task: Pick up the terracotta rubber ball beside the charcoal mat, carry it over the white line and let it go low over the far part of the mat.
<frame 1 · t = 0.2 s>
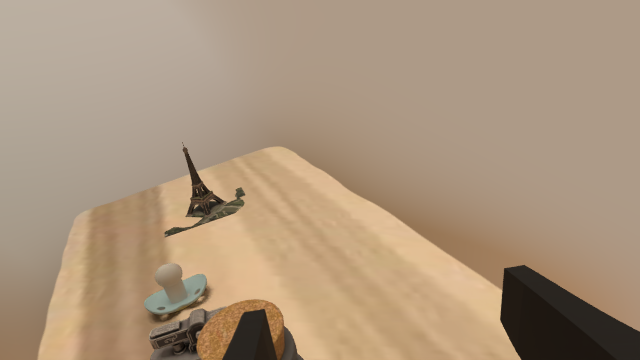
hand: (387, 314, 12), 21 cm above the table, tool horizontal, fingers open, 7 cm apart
eiffel tower figurine: (207, 214, 72), on the table
pacifier: (181, 302, 50), on the table
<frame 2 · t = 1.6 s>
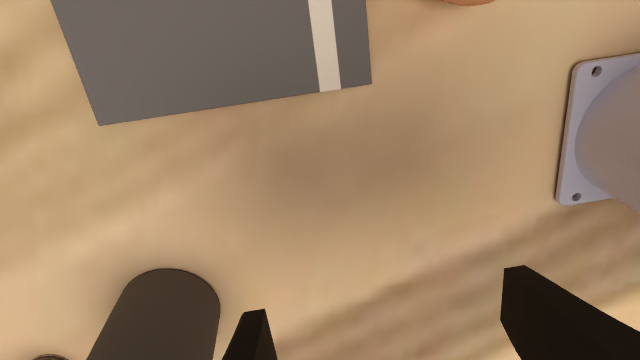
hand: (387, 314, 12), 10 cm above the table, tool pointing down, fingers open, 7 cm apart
bottle: (172, 305, 24), on the table
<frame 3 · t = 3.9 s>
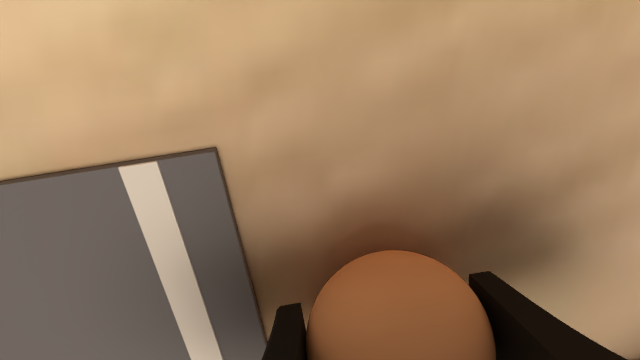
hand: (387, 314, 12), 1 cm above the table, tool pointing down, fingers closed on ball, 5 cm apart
ball: (376, 283, 13), on the table, touching gripper
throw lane: (57, 337, 13), on the table
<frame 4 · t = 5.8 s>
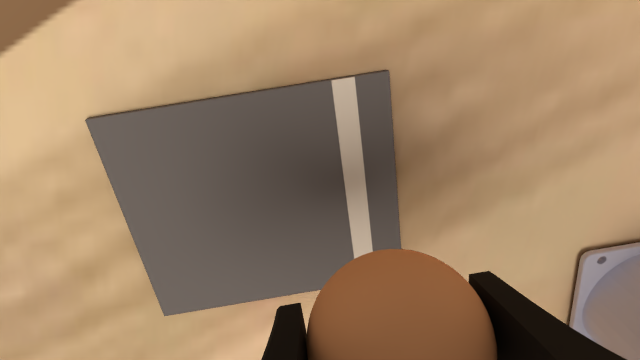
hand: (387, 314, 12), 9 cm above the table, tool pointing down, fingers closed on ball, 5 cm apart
ball: (377, 282, 13), point 7 cm above the table, touching gripper
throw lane: (264, 204, 20), on the table
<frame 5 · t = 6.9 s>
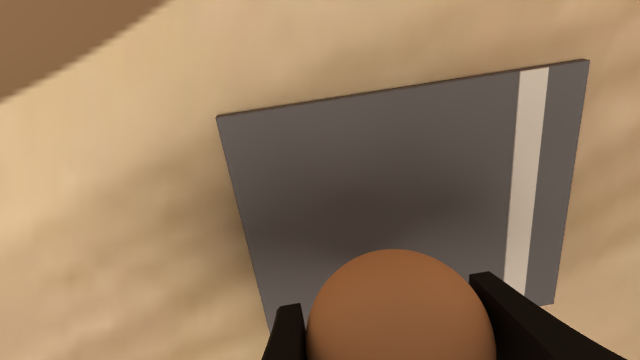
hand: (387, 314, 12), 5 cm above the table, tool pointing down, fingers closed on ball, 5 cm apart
ball: (376, 282, 13), point 3 cm above the table, touching gripper
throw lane: (408, 221, 16), on the table
when the fingers open (2 cm above the table, at t = 7.8 s): ball stays where it is, resting on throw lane.
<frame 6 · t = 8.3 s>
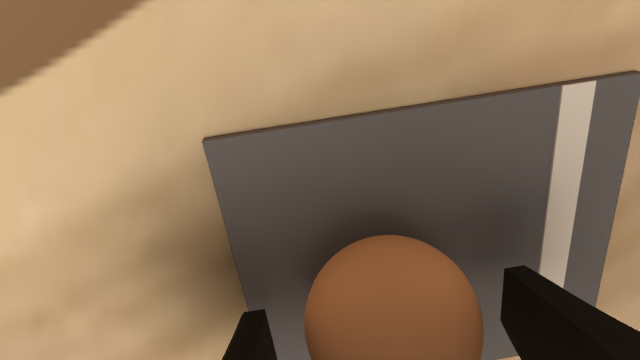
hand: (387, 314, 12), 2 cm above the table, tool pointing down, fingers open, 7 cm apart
ball: (372, 268, 14), resting on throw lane
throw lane: (426, 255, 14), on the table
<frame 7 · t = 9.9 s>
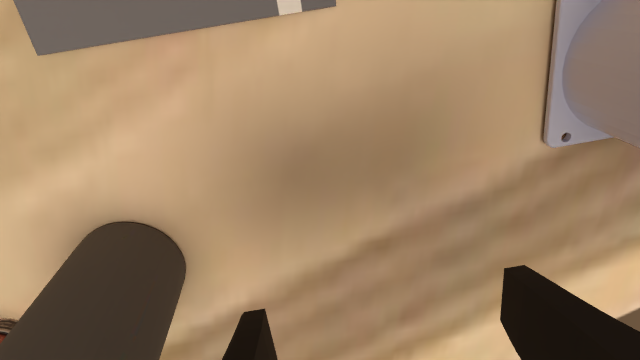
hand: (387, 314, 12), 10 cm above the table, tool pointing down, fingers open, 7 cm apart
bottle: (133, 263, 23), on the table
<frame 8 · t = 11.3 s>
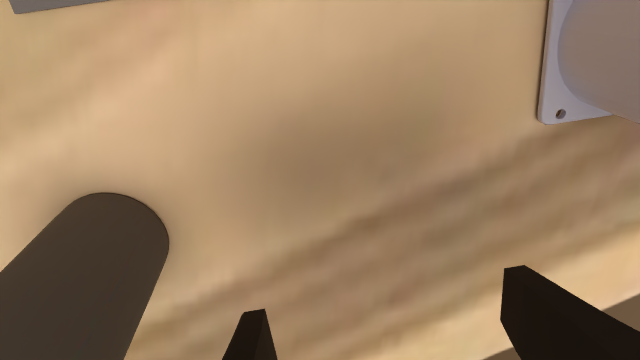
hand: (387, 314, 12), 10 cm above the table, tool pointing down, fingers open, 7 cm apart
bottle: (116, 237, 22), on the table
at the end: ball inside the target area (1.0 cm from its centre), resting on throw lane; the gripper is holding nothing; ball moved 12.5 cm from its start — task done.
